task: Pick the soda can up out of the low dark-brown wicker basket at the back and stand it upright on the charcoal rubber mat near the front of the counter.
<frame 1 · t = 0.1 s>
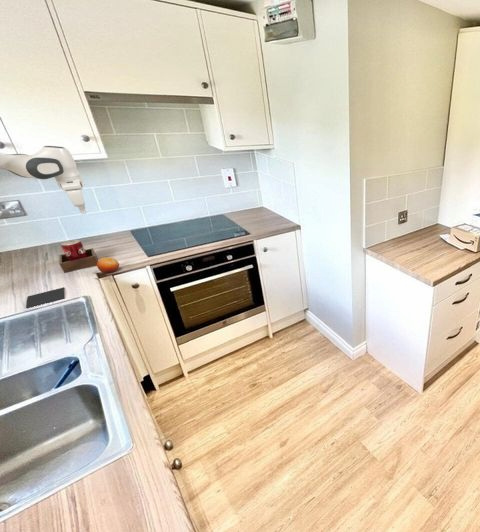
hand: (83, 211, 156), 25 cm above the worktop, tool pointing down, fingers open, 8 cm apart
fruit: (111, 271, 155), on the worktop
basket: (81, 264, 160), on the worktop
mat: (46, 297, 133), on the worktop
soda can: (81, 264, 160), resting in basket
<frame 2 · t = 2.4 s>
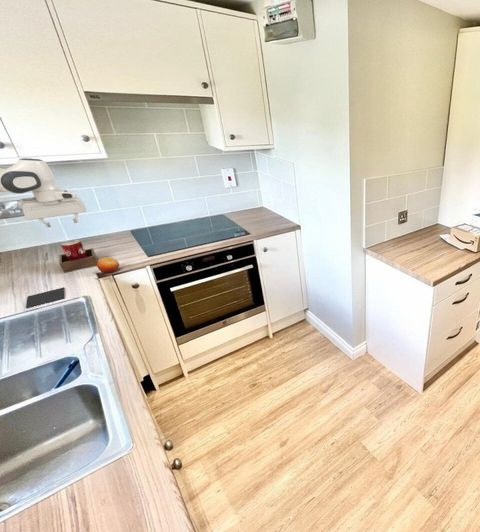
hand: (63, 224, 150), 21 cm above the worktop, tool pointing down, fingers open, 8 cm apart
nothing on the worktop moved.
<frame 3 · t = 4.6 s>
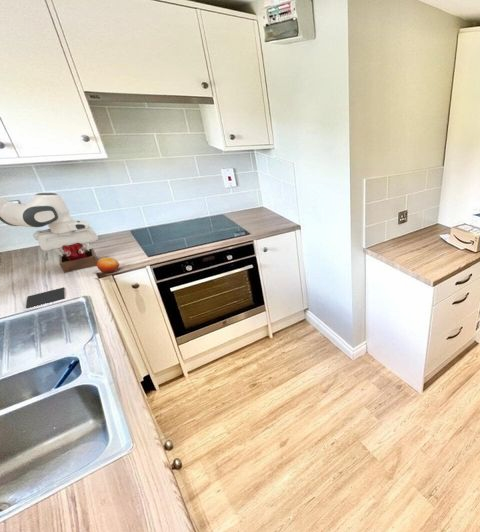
hand: (76, 253, 157), 6 cm above the worktop, tool pointing down, fingers closed on soda can, 7 cm apart
soda can: (81, 264, 160), resting in basket, touching gripper
everything else where it was.
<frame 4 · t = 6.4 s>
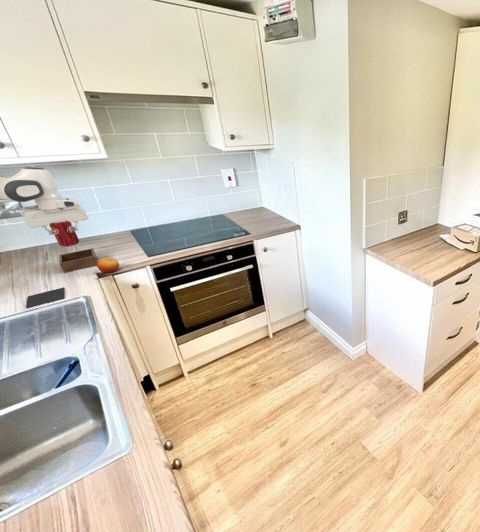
hand: (64, 232, 152), 17 cm above the worktop, tool pointing down, fingers closed on soda can, 7 cm apart
soda can: (70, 244, 154), point 11 cm above the worktop, touching gripper
everything else where it was.
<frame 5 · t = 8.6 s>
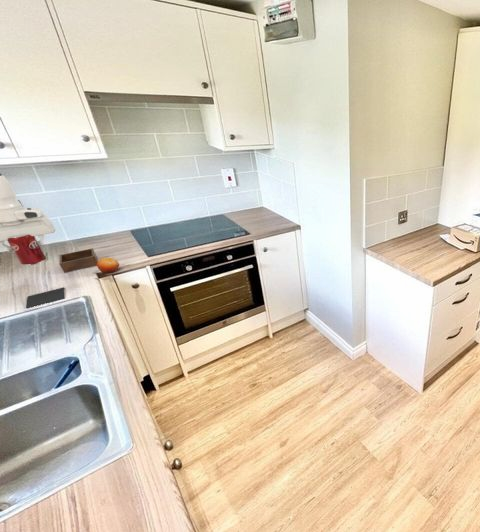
hand: (26, 248, 127), 21 cm above the worktop, tool pointing down, fingers closed on soda can, 7 cm apart
soda can: (34, 262, 130), point 14 cm above the worktop, touching gripper
everything else where it was.
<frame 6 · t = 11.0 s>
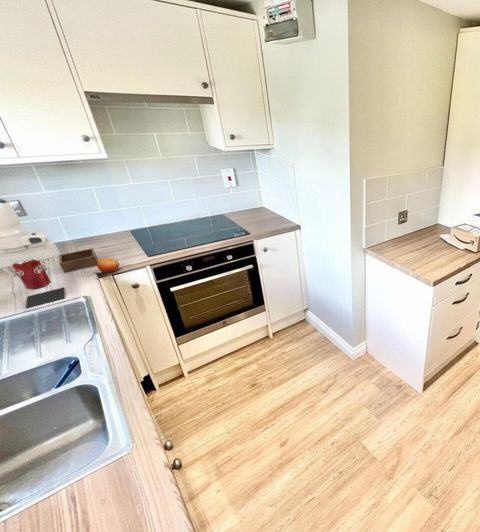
hand: (31, 272, 128), 12 cm above the worktop, tool pointing down, fingers closed on soda can, 7 cm apart
soda can: (39, 286, 131), point 6 cm above the worktop, touching gripper
everything else where it was.
when the fingers open (6 cm above the worktop, at t = 13.0 s): soda can stays where it is, resting on mat.
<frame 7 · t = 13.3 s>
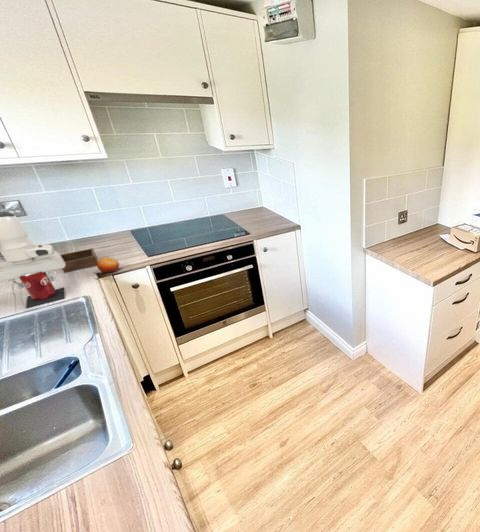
hand: (38, 283, 130), 7 cm above the worktop, tool pointing down, fingers open, 8 cm apart
soda can: (45, 297, 133), resting on mat
everything else where it was.
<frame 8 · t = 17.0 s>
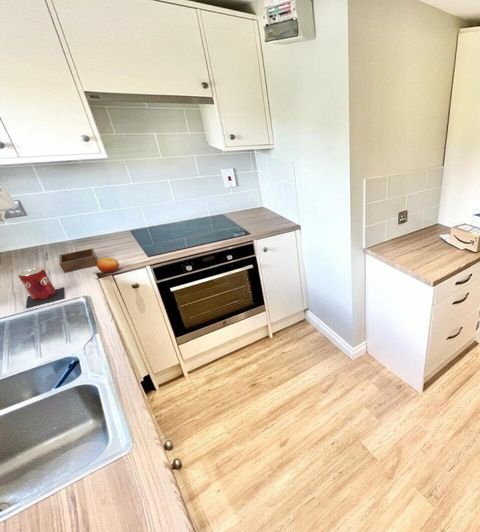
nothing on the worktop moved.
at the end: soda can inside the target area on the mat (0.1 cm from its centre), point 0.3 cm above the mat's base; soda can tilted 0°; the gripper is holding nothing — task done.
